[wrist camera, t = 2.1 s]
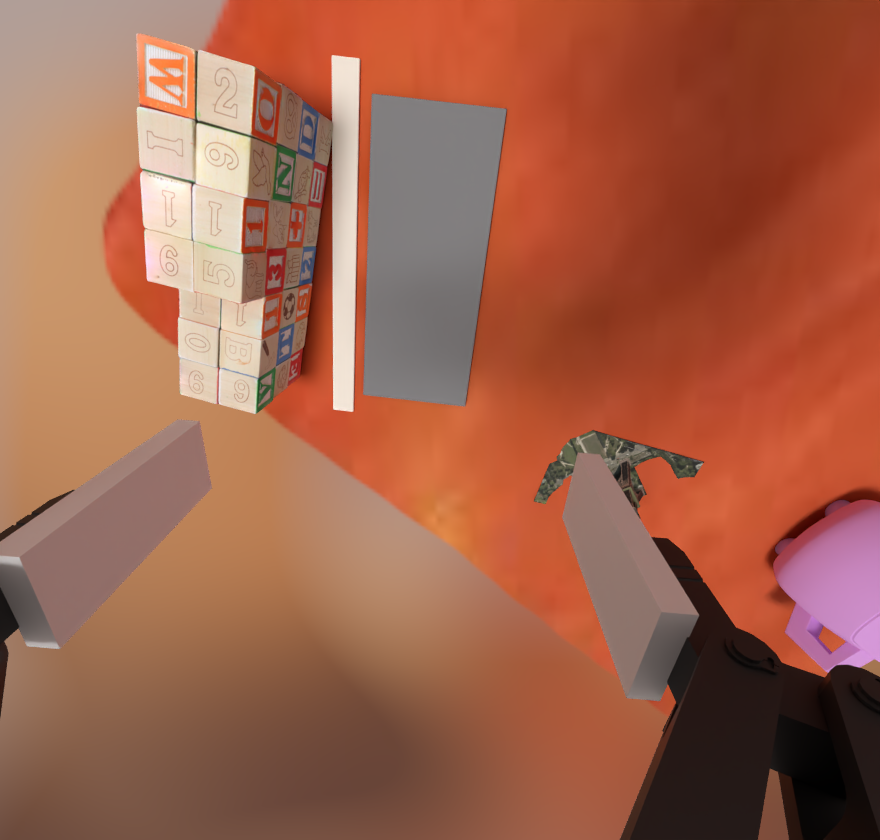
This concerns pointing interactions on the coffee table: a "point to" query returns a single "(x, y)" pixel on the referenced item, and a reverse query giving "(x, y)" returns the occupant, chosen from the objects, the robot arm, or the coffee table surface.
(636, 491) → the eiffel tower figurine
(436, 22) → the coffee table surface
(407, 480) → the coffee table surface
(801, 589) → the teapot
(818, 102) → the coffee table surface
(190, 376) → the stack of blocks
